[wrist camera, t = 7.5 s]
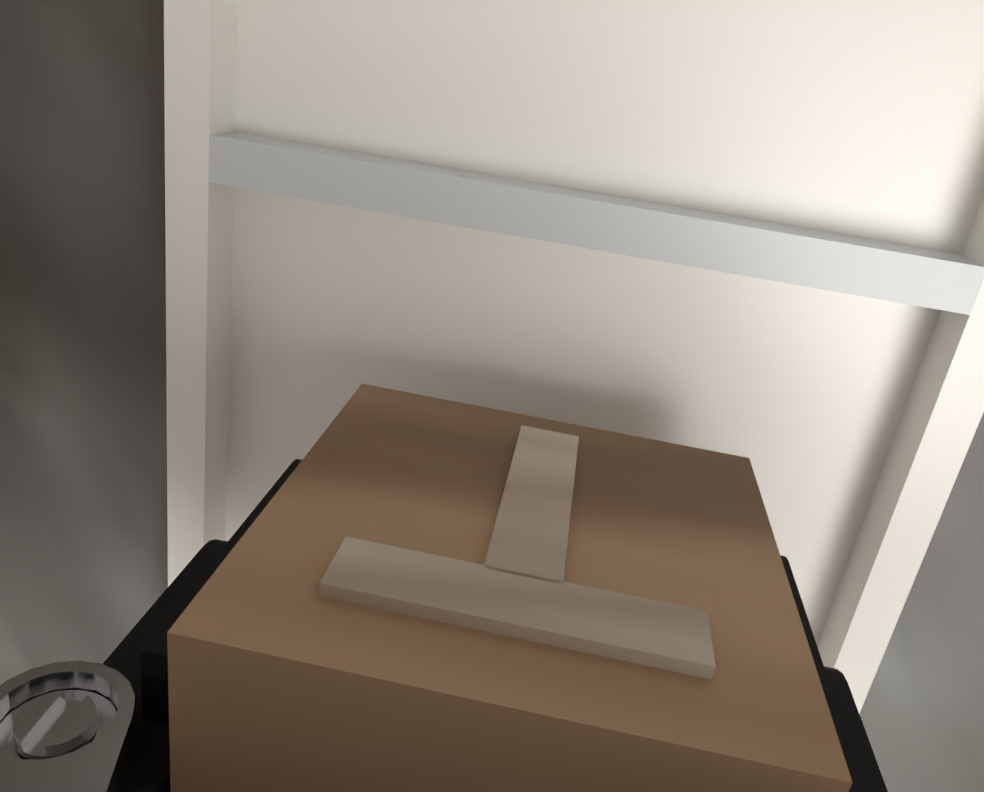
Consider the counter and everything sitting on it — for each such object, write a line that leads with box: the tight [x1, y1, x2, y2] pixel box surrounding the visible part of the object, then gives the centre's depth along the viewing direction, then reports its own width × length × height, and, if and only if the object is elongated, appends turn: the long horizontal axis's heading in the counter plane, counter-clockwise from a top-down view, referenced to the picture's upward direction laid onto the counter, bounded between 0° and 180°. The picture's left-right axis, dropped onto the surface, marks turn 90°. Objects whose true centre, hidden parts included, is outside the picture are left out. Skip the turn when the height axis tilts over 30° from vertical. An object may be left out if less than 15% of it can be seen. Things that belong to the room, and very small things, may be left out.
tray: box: [164, 0, 984, 713], centre depth 11 cm, size 22×11×2 cm, turn 171°
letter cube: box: [167, 384, 852, 792], centre depth 9 cm, size 5×5×5 cm
